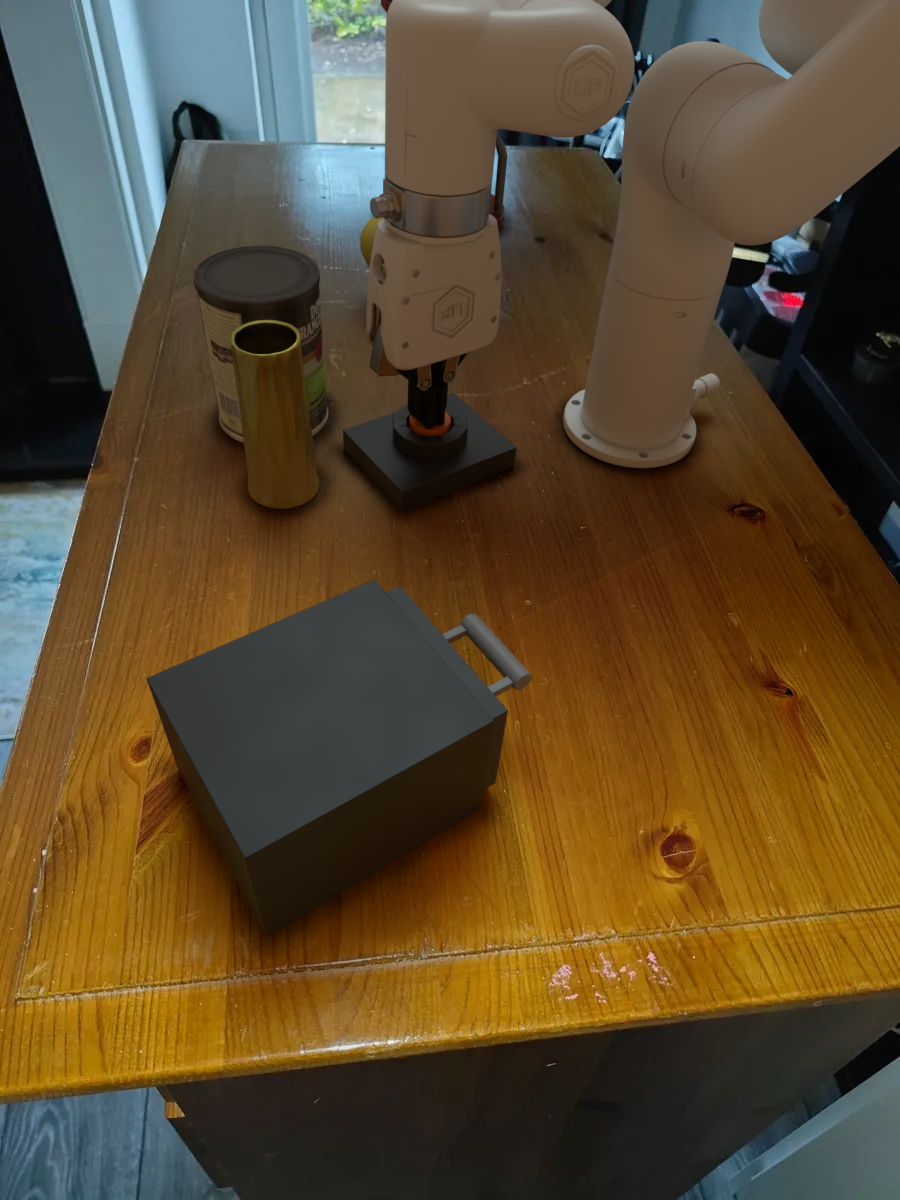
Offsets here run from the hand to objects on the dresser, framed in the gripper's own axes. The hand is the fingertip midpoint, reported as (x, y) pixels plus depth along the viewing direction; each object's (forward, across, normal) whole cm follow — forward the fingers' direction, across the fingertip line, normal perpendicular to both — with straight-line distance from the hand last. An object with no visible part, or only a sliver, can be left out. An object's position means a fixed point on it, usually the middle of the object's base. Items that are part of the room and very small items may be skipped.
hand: (426, 418), depth 73 cm
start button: (+2, 0, 0) cm, 2 cm away
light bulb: (+4, +12, +26) cm, 29 cm away
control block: (+4, 0, 0) cm, 4 cm away
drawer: (+4, -19, -25) cm, 32 cm away
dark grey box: (+5, -24, -25) cm, 35 cm away
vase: (+5, -13, +3) cm, 14 cm away
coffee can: (+5, -9, +13) cm, 16 cm away
